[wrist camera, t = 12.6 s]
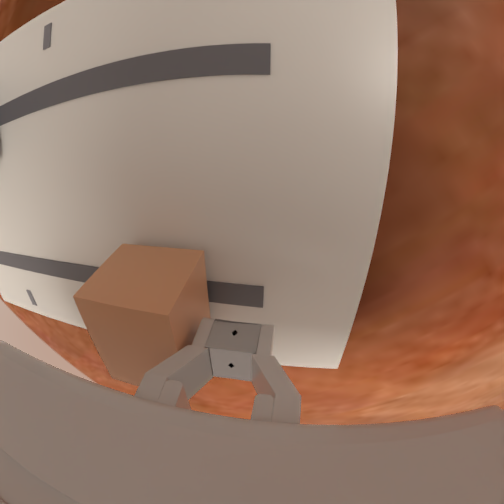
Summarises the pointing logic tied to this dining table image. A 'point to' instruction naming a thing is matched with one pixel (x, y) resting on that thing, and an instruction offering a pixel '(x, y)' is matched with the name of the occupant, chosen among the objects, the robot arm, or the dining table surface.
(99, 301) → the block
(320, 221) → the fader panel
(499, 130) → the dining table surface
